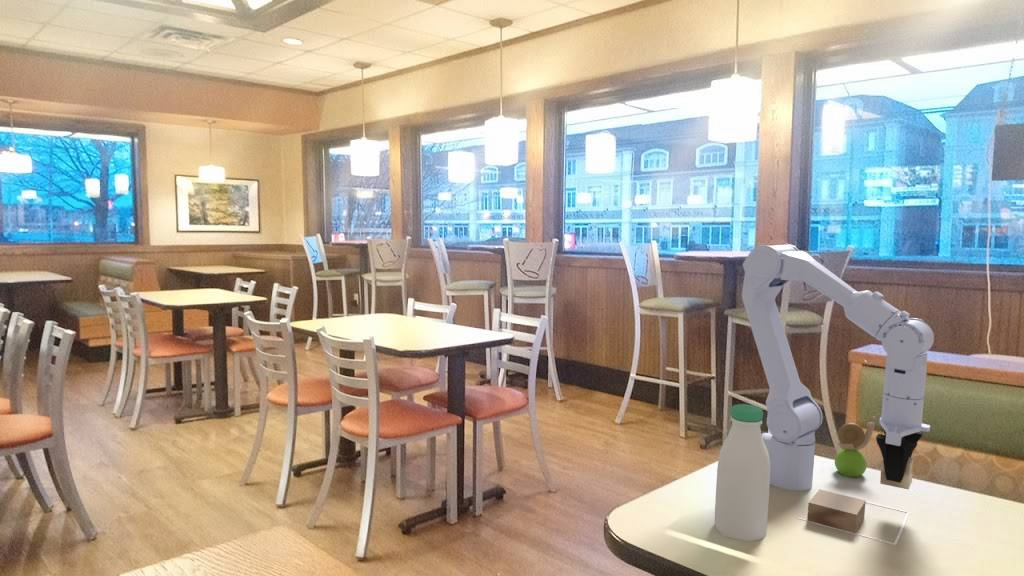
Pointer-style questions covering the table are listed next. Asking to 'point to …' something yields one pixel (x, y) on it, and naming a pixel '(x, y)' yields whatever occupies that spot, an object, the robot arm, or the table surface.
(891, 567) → the table surface
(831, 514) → the walnut base block
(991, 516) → the table surface
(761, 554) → the table surface
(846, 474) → the snail figurine
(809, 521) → the white rectangular outline marking
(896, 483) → the maple cube
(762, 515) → the milk bottle
